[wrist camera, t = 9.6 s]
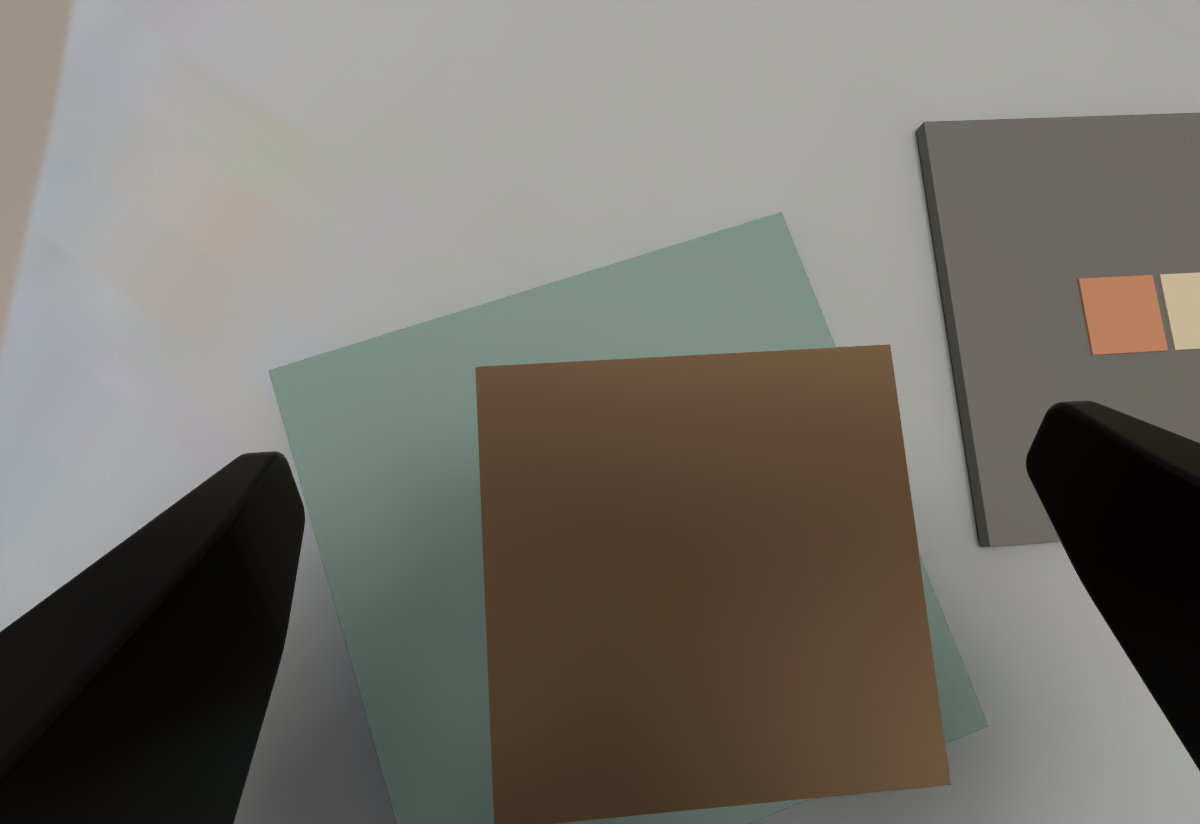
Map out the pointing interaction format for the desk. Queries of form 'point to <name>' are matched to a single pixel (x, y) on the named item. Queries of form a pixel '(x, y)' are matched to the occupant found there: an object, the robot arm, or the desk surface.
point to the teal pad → (453, 501)
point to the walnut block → (701, 585)
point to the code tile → (1063, 284)
